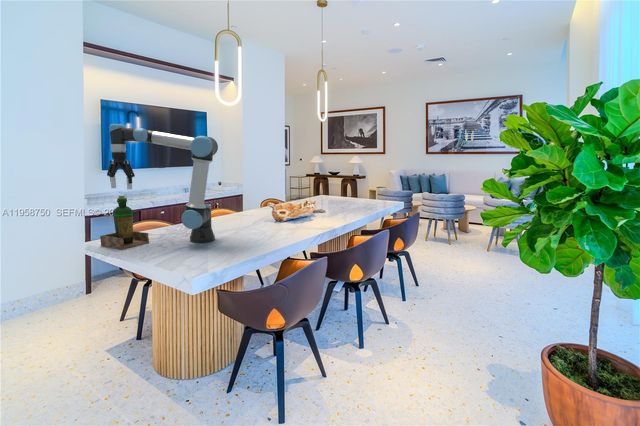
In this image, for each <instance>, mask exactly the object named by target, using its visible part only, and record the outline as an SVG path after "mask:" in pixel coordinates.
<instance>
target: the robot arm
mask: <svg viewBox="0 0 640 426" xmlns="http://www.w3.org/2000/svg"><path fill="white" fill-rule="evenodd" d="M108 132H109V137H110V138H109V139H110V151H111V159H110V160H109V166H108V169H107V174H106V176H107V177H109V181H110V189H117V181H116V180H117V179H116V174H117V172H118V170H119V169H121V170H122V171H123V173H124V174H125V176H126V189H127V190H133V178H135V176H136V175H135V173H134V170H133V168H132V165H131V162H130V160H128V159H127V152H126V151H127V148H126V147H127V146H126V143H127V142H138V143H149V144H155V145H160V146H165V147H171V148H177V149H183V150H188V151H189V150H190V152H191V160H192V161H193V164H192V165H193V166H192V171H191V172H192V173H191V181H190V189H189V196H188V202H186V204H185V208H184V212H183V213H182V215H181V219H180V220H181V223H182V225H183V226H184V227H185V228H187V229H188V230H191V232H190V235H189V241H190V242H192V243H210V242H213V241H215V239H216V238H215V237H216V236H215V234H214V230H213V227H212V226H213V225H212V207H211V205H210V203H209V204H208V203H205V197H206V189H207V184H208V183H207V182H208V176H209V170H210V169H209V168H210V164H211V163H212V162H213V157H214V156H215V155H216V153H218V150H219V145H218V142H217V141H216V139H215V138H213V137H210V136H206V135H198V136H196V137H191V136H186V135H180V134H175V133H174V134H172V133H168V132H161V131H155V130H152V129H151V130H150V129H145V128H142V127H128V128H127V127H125V125H124V124H122V123H121V124H120V123H111V124H110V125H109V131H108ZM126 159H127V160H126Z"/></svg>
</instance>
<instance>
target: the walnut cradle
mask: <svg viewBox="0 0 640 426" xmlns="http://www.w3.org/2000/svg"><path fill="white" fill-rule="evenodd" d="M99 237H100V239H99V240H100V246H101V247H103V248H104V247H105V248H109V249H110V248H111V249H115V250H121V251H123V250H126V249H130V248H134V247H138V246H142V245H146V244H149V243H150V241H149V233H148V232H143V231H135V230H133V242H131V243H128V244H124V241H123V239H122V238H116V232H111V233H108V234H102V235H100V236H99Z"/></svg>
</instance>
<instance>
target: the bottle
mask: <svg viewBox="0 0 640 426" xmlns="http://www.w3.org/2000/svg"><path fill="white" fill-rule="evenodd" d="M116 203H118V205H117V207H115V208H114V209H113V210H112V216H113V224H114V225H113V226H114V230H115V232H114V233H116V238H122V239H123V241H124V244H128V243H131V242H133V231H134V210H133V209H132V208H131V207H129V206H127V203H128V200H127V197H126V195H118V197H117V200H116Z"/></svg>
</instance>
